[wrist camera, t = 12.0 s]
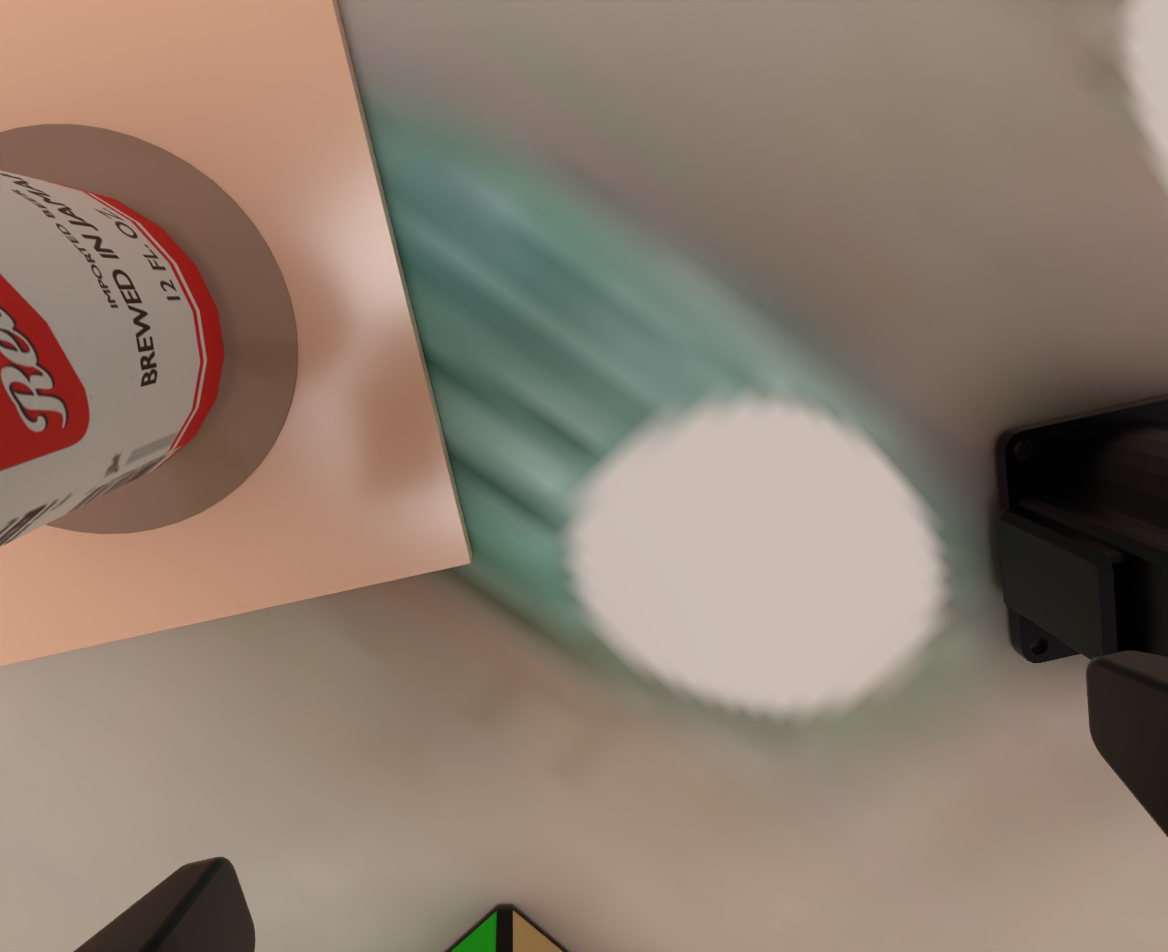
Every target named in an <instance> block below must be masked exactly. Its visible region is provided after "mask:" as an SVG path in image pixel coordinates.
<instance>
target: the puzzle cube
mask: <svg viewBox="0 0 1168 952" xmlns="http://www.w3.org/2000/svg"><path fill="white" fill-rule="evenodd" d="M451 952H563V951H562V950H561V949H559V948H558V947H557V946H556V945H555V944H553V943H552V942H551V941H550V940H549V939H547V938H546V937H545V936H544V935H543V934H541V933H540V932H539V931H538V930H536V929H535V928H534V927H533V926H532V925H530V924H529V923H528V922H527V921H526V920H524V919H523V918H522V917H521V916H520V915H518V914H517V913H516V912H515V911H514V910H509V909H502V910H497V911H496V912H495V913H493V914H492V915H491V916H490V917H489V918H488V919H487V920H486V921H484V922H483V923H482V924H481V925H480V926H479V927H478V928H477V929H475V930H474V931H473V932H472V933H471V934H470V935H469V936H468V937H466V938H465V939H464V940H463V941H462V942H461V943H460V944H459V945H457V946H456V947H455V948H454V949H453V950H452V951H451Z"/></svg>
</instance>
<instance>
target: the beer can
mask: <svg viewBox="0 0 1168 952" xmlns="http://www.w3.org/2000/svg"><path fill="white" fill-rule="evenodd" d="M224 356H225V353H224V346H223V339H222V333H221V326H220V319H219V312H218V309H217V307H216V304H215V302H214V300H213V298H212V296H211V294H210V292H209V290H208V288H207V286H206V284H205V282H204V280H203V277H202V275H201V273H200V271H199V269H198V267H197V266H196V265H195V264H194V262H193V261H192V260H191V259H190V258H189V257H188V256H187V255H186V254H185V252H184V251H183V250H182V249H181V248H180V247H179V246H178V245H177V244H176V243H175V241H174V240H173V239H172V238H171V237H170V236H169V235H168V234H167V233H166V232H165V230H164V229H163V228H162V227H160V226H158V225H157V224H155V223H154V222H152V221H150V220H149V219H147V218H145V217H144V216H142V215H141V214H139V213H137V212H136V211H134V210H133V209H131V208H129V207H128V206H126V205H124V204H123V203H121V202H120V201H118V200H116V199H114V198H110V197H107V196H103V195H99V194H96V193H92V192H88V191H84V190H81V189H77V188H73V187H70V186H66V185H62V184H58V183H53V182H49V181H45V180H40V179H36V178H31V177H27V176H22V175H18V174H14V173H9V172H5V171H0V547H1V546H3V545H5V544H7V543H9V542H11V541H13V540H15V539H17V538H19V537H21V536H23V535H25V534H27V533H29V532H31V531H33V530H35V529H37V528H39V527H41V526H43V525H45V524H47V523H49V522H51V521H53V520H55V519H57V518H59V517H61V516H63V515H65V514H67V513H69V512H71V511H73V510H75V509H77V508H79V507H81V506H83V505H85V504H87V503H89V502H91V501H93V500H95V499H97V498H99V497H101V496H103V495H105V494H107V493H109V492H111V491H113V490H115V489H117V488H119V487H121V486H123V485H125V484H127V483H129V482H131V481H133V480H135V479H137V478H139V477H141V476H143V475H145V474H147V473H149V472H151V471H153V470H155V469H157V468H159V467H160V466H161V465H163V464H164V463H165V462H166V461H167V460H168V459H170V458H171V457H172V456H173V455H174V454H175V453H177V452H178V451H179V450H180V449H181V448H182V447H184V446H185V445H186V444H187V443H188V442H190V441H191V440H192V439H193V438H194V437H195V436H196V434H197V432H198V431H199V429H200V427H201V425H202V424H203V422H204V420H205V418H206V417H207V415H208V413H209V411H210V410H211V408H212V406H213V405H214V403H215V401H216V399H217V394H218V389H219V383H220V378H221V372H222V367H223V361H224Z"/></svg>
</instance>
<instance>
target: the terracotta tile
mask: <svg viewBox="0 0 1168 952" xmlns="http://www.w3.org/2000/svg"><path fill="white" fill-rule="evenodd" d="M0 171H5V172H9V173H14V174H18V175H22V176H27V177H31V178H36V179H40V180H45V181H49V182H53V183H58V184H62V185H66V186H70V187H73V188H77V189H81V190H84V191H88V192H92V193H96V194H99V195H103V196H107V197H110V198H114V199H116V200H118V201H120V202H121V203H123V204H124V205H126V206H128V207H129V208H131V209H133V210H134V211H136V212H137V213H139V214H141V215H142V216H144V217H145V218H147V219H149V220H150V221H152V222H154V223H155V224H157V225H158V226H160V227H162V228H163V229H164V230H165V232H166V233H167V234H168V235H169V236H170V237H171V238H172V239H173V240H174V241H175V243H176V244H177V245H178V246H179V247H180V248H181V249H182V250H183V251H184V252H185V254H186V255H187V256H188V257H189V258H190V259H191V260H192V261H193V262H194V264H195V265H196V266H197V267H198V269H199V271H200V273H201V275H202V277H203V280H204V282H205V284H206V286H207V288H208V290H209V292H210V294H211V296H212V298H213V300H214V302H215V304H216V307H217V309H218V312H219V319H220V326H221V333H222V339H223V346H224V353H225V356H224V361H223V367H222V372H221V378H220V383H219V389H218V394H217V399H216V401H215V403H214V405H213V406H212V408H211V410H210V411H209V413H208V415H207V417H206V418H205V420H204V422H203V424H202V425H201V427H200V429H199V431H198V432H197V434H196V436H195V437H194V438H193V439H192V440H191V441H190V442H188V443H187V444H186V445H185V446H184V447H182V448H181V449H180V450H179V451H178V452H177V453H175V454H174V455H173V456H172V457H171V458H170V459H168V460H167V461H166V462H165V463H164V464H163V465H161V466H160V467H159V468H157V469H155V470H153V471H151V472H149V473H147V474H145V475H143V476H141V477H139V478H137V479H135V480H133V481H131V482H129V483H127V484H125V485H123V486H121V487H119V488H117V489H115V490H113V491H111V492H109V493H107V494H105V495H103V496H101V497H99V498H97V499H95V500H93V501H91V502H89V503H87V504H85V505H83V506H81V507H79V508H77V509H75V510H73V511H71V512H69V513H67V514H65V515H63V516H61V517H59V518H57V519H55V520H53V521H51V522H49V523H47V524H45V525H43V526H41V527H39V528H37V529H35V530H33V531H31V532H29V533H27V534H25V535H23V536H21V537H19V538H17V539H15V540H13V541H11V542H9V543H7V544H5V545H3V546H1V547H0V666H3V665H7V664H12V663H17V662H21V661H26V660H30V659H35V658H39V657H44V656H49V655H53V654H58V653H62V652H67V651H72V650H76V649H81V648H85V647H90V646H94V645H99V644H104V643H108V642H113V641H117V640H122V639H127V638H131V637H136V636H140V635H145V634H149V633H154V632H159V631H163V630H168V629H172V628H177V627H182V626H186V625H191V624H195V623H200V622H204V621H209V620H214V619H218V618H223V617H227V616H232V615H237V614H241V613H246V612H250V611H255V610H259V609H264V608H269V607H273V606H278V605H282V604H287V603H292V602H296V601H301V600H305V599H310V598H314V597H319V596H324V595H328V594H333V593H337V592H342V591H347V590H351V589H356V588H360V587H365V586H369V585H374V584H379V583H383V582H388V581H392V580H397V579H401V578H406V577H411V576H415V575H420V574H424V573H429V572H434V571H438V570H443V569H447V568H452V567H456V566H461V565H466V564H470V563H471V559H472V550H471V546H470V541H469V537H468V533H467V529H466V525H465V521H464V517H463V513H462V509H461V505H460V501H459V497H458V493H457V488H456V484H455V480H454V476H453V472H452V468H451V464H450V460H449V456H448V452H447V448H446V444H445V440H444V435H443V431H442V427H441V423H440V419H439V415H438V411H437V407H436V403H435V399H434V395H433V391H432V387H431V382H430V378H429V374H428V370H427V366H426V362H425V358H424V354H423V350H422V346H421V342H420V338H419V334H418V330H417V325H416V321H415V317H414V313H413V309H412V305H411V301H410V297H409V293H408V289H407V285H406V281H405V277H404V272H403V268H402V264H401V260H400V256H399V252H398V248H397V244H396V240H395V236H394V232H393V228H392V224H391V219H390V215H389V211H388V207H387V203H386V199H385V195H384V191H383V187H382V183H381V179H380V175H379V171H378V166H377V162H376V158H375V154H374V150H373V146H372V142H371V138H370V134H369V130H368V126H367V122H366V118H365V113H364V109H363V105H362V101H361V97H360V93H359V89H358V85H357V81H356V77H355V73H354V69H353V65H352V60H351V56H350V52H349V48H348V44H347V40H346V36H345V32H344V28H343V24H342V20H341V16H340V12H339V7H338V3H337V0H0Z"/></svg>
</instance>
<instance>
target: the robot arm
mask: <svg viewBox="0 0 1168 952" xmlns="http://www.w3.org/2000/svg"><path fill="white" fill-rule="evenodd" d="M1022 440H1023V443H1024V449H1023V451H1022V452H1021V454H1020V455H1018V456H1015V453H1014V449H1015V446H1016V445H1017V443H1018V442H1020V441H1022ZM996 455H997V467H998V478H999V490H1000V501H1001V512H1000V514H999V516H998V519H997V528H998V539H999V550H1000V561H1001V573H1002V584H1003V595H1004V602H1005V604H1006V605H1007V606H1009V607H1010V615H1011V627H1012V638H1013V645H1014V649H1015V650H1016V652H1017V653H1018V654H1019V655H1021V656H1022V657H1023V658H1025V659H1026V660H1028V661H1030V662H1033V663H1042V662H1046V661H1050V660H1055V659H1059V658H1064V657H1068V656H1072V655H1077V654H1083V655H1084V656H1086V657H1087V658H1089V659H1090V660H1091V661H1090V662H1089V664H1088V666H1087V669H1086V681H1087V697H1088V712H1089V727H1090V733H1091V736H1092V739H1093V742H1094V744H1095V746H1096V748H1097V750H1098V751H1099V753H1100V754H1101V756H1102V757H1103V758H1104V759H1105V761H1106V762H1107V763H1108V764H1109V766H1110V767H1111V768H1112V769H1113V771H1114V772H1115V773H1116V774H1117V775H1118V777H1119V778H1120V779H1121V780H1122V782H1123V783H1124V784H1125V785H1126V786H1127V788H1128V789H1129V790H1130V791H1131V793H1132V794H1133V795H1134V796H1135V798H1136V799H1137V800H1138V801H1139V802H1140V804H1141V805H1142V806H1143V807H1144V809H1145V810H1146V811H1147V812H1148V813H1149V815H1150V816H1151V817H1152V818H1153V820H1154V821H1155V822H1156V823H1157V825H1158V826H1159V827H1160V828H1161V829H1162V831H1163V832H1164V833H1165V834H1166V836H1167V837H1168V395H1164V396H1159V397H1155V398H1150V399H1146V400H1141V401H1136V402H1132V403H1127V404H1123V405H1118V406H1113V407H1109V408H1104V409H1100V410H1095V411H1090V412H1086V413H1081V414H1077V415H1072V416H1067V417H1063V418H1058V419H1054V420H1049V421H1044V422H1040V423H1035V424H1031V425H1026V426H1021V427H1017V428H1013V429H1010V430H1008V431H1006V432H1005V433H1004V434H1003V435H1002V436H1001V437H1000V438H999V440H998V442H997V447H996ZM1038 637H1040V639H1039V643H1038V644H1037V645H1036V646H1035V647H1033V648H1030V646H1031V643H1032V642H1033V640H1034V639H1036V638H1038ZM254 950H255V930H254V924H253V921H252V917H251V915H250V912H249V909H248V906H247V903H246V900H245V897H244V894H243V892H242V889H241V886H240V883H239V880H238V877H237V874H236V871H235V869H234V867H233V865H232V863H231V862H230V861H229V860H228V859H226V858H224V857H215V858H210V859H206V860H202V861H197V862H193V863H188V864H186V865H184V866H182V867H180V868H179V869H178V870H176V871H175V872H174V873H173V874H171V875H170V876H169V877H167V878H166V879H165V880H164V881H162V882H161V883H160V884H159V885H157V886H156V887H155V888H154V889H152V890H151V891H150V892H148V893H147V894H146V895H145V896H143V897H142V898H141V899H140V900H138V901H137V902H136V903H135V904H133V905H132V906H131V907H129V908H128V909H127V910H126V911H124V912H123V913H122V914H121V915H119V916H118V917H117V918H116V919H114V920H113V921H112V922H110V923H109V924H108V925H107V926H105V927H104V928H103V929H102V930H100V931H99V932H98V933H97V934H95V935H94V936H93V937H91V938H90V939H89V940H88V941H86V942H85V943H84V944H83V945H81V946H80V947H79V948H78V949H76V950H75V951H74V952H254Z"/></svg>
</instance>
